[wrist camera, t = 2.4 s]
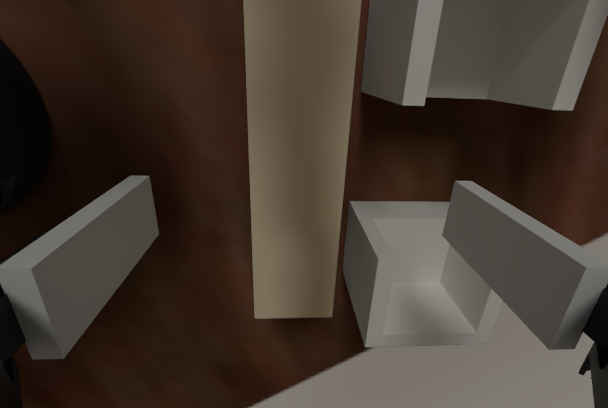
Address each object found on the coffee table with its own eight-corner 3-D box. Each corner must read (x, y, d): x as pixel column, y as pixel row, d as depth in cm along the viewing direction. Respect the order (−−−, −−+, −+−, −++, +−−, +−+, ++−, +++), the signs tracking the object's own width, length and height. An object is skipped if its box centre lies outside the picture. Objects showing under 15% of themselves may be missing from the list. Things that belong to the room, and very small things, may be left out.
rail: (260, 267, 23) (254, 318, 18) (253, 9, 16) (242, -12, 12) (322, 267, 23) (332, 317, 18) (339, 14, 17) (361, -6, 12)
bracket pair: (342, 270, 27) (365, 347, 20) (372, -26, 19) (431, -85, 11) (432, 270, 28) (487, 344, 20) (501, -18, 19) (638, -69, 12)
